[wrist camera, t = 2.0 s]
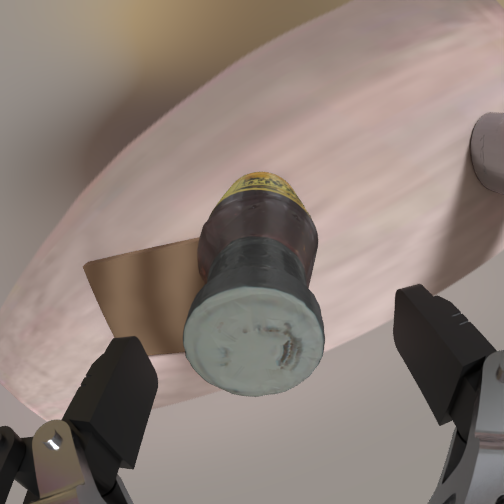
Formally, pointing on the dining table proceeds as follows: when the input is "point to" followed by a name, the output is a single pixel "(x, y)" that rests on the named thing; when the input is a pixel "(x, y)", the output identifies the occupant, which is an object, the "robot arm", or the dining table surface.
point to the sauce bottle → (256, 291)
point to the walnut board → (148, 293)
